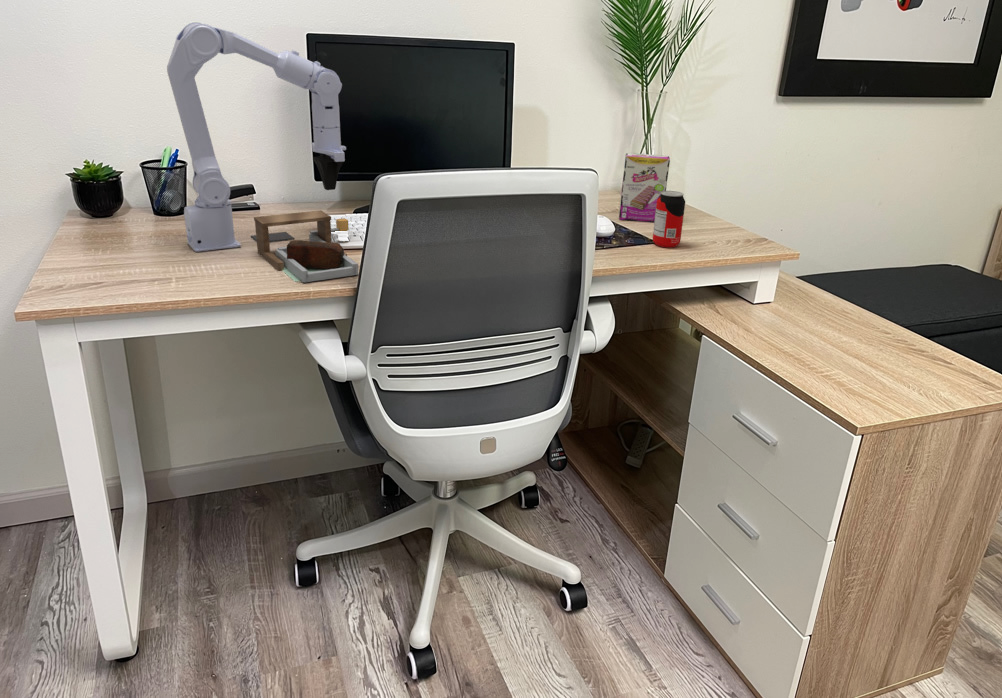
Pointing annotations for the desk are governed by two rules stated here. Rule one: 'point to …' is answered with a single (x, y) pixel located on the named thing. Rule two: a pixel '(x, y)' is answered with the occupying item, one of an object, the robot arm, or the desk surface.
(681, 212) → the beverage can
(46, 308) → the desk surface
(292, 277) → the mat
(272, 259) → the tunnel
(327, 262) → the brick
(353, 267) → the tray
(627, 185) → the candy bar box
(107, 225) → the desk surface
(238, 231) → the desk surface
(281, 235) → the pit marker
